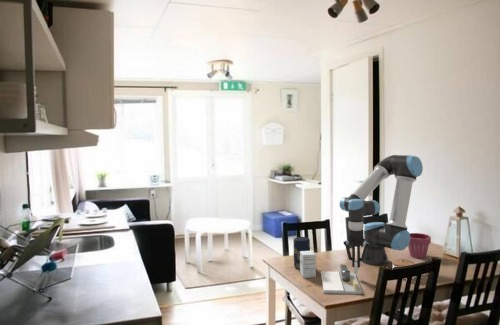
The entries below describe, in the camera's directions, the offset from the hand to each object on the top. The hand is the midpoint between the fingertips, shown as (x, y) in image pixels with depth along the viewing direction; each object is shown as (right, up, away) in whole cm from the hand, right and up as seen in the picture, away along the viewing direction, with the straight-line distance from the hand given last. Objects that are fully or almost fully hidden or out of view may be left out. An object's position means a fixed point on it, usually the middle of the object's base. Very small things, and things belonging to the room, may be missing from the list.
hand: (356, 273), depth 209 cm
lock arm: (-6, -2, -1) cm, 6 cm away
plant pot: (+48, 0, +36) cm, 60 cm away
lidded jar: (+26, -3, +3) cm, 26 cm away
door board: (-10, -4, -5) cm, 12 cm away
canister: (-26, -3, +21) cm, 33 cm away
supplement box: (-24, -4, +8) cm, 26 cm away
